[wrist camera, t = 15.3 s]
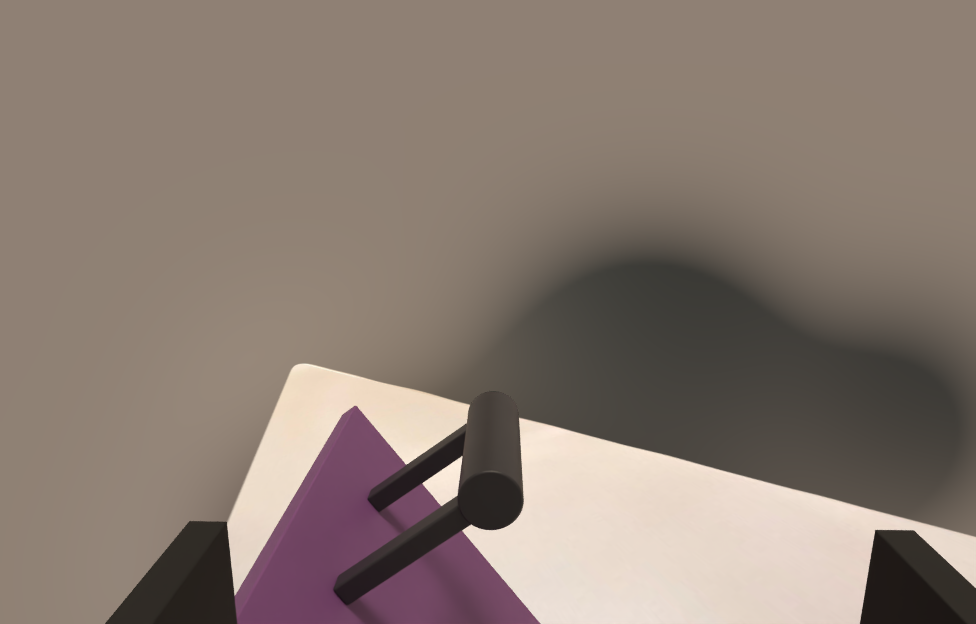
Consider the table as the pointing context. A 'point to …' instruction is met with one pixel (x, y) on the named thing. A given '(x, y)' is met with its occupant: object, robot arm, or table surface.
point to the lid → (394, 531)
